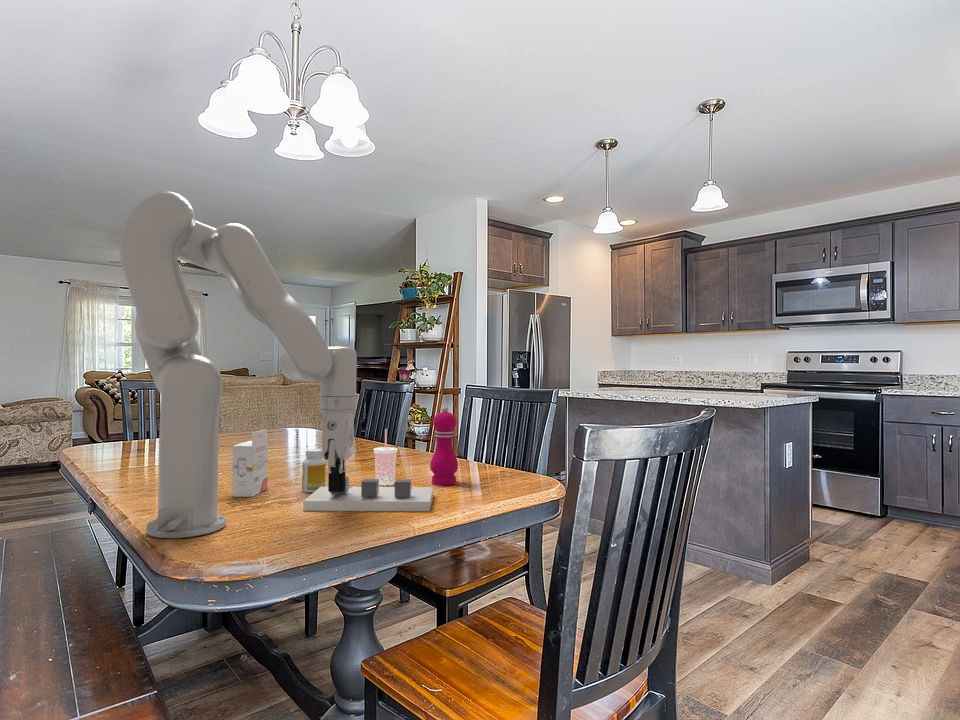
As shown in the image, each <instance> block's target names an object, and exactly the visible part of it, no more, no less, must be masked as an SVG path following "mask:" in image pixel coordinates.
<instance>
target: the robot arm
mask: <svg viewBox="0 0 960 720" xmlns="http://www.w3.org/2000/svg"><path fill="white" fill-rule="evenodd" d="M119 257H120V262H121V266H122V270H123V273H124V276H125V280H126V283H127V286H128V290H129V293H130V295H131V299H132V302H133V304H134V307H135V311H136V317H135V319H134V320H135V321H134V329H135V330H134V331H135V334H136V338H137V340H138V343H139V346H140V348H141V350H142V354H143V357H144V359H145V362H146V364H147V366H148V370H149V373H150V375H151V377H152V381H153V383H154V385H155V387H156V389H157V391H158V392H159V394H160V395H161V397H160V398H161V401H160V415H159V416H160V417H159V430H158V431H159V433H158V434H159V435H158V437H159V439H158V444H159V445H158V446H159V449H158V487H157V491H158V493H157V517H156V518H155V519H154V520H152V521H149V522H148V523H147V524H146V534H147V535H149V536H151V537H154V538H159V539H181V538H193V537H198V536H203V535H207V534H212V533H214V532H217V531H219V530H221V529H223V528H224V527H225V526H226V525H227V517H225V516H224V515H222V514H218V490H219V489H218V484H219V482H218V479H219V446H220V445H219V436H220V435H219V432H220V431H219V429H220V412H221V404H222V396H223V378H222V375H221V372H220V369H219V368H218V366H217V365H216V364H215V363H214V362H213V361H212V360H211V359H209V358H208V357H206V356H203V355H202V352H201V349H200V346H199V343H198V340H197V338H196V337H197V335H198V331H199V318H198V316H197V313H196V311H195V309H194V307H193V304H192V302H191V298H190V295H189V294H188V290H187V288H186V285H185V282H184V279H183V276H182V272H181V269H180V265H179V260H181V261H184V262H187V263H189V264H192V265H195V266H198V267H199V268H204V269H207V270H210V271H213V272H216V273H219V274H220V273H222V274H223V275H224V277H225V278H226V279H227V281H228V283H229V284H230V286H231V287H232V288H231V289H232V290H233V291H234V293H235V295H236V296H237V298H238V299H239V301H240V303H241V304H242V306H243V308H244V310H245V311H246V312H247V313H248V314H249V315H250V316H251V317H252V318H254V320H257V321H258V322H260V323H261V324H263V325H264V326H265V327H267V329H269V330H270V331H271V332H272V334H273V335H274V336H275V337H276V338H277V340H278V341H279V343H280V345H282V347H283V348H284V350H283V352H281V353H280V356H279V359H278V368H279V370H280V372H281V374H283V375H284V376H285V377H286V378H287V379H290V380H292V381H296V382H308V383H309V382H311V383H313V382H318V381H319V412H320V413H323V416H322V417H323V419H322V430H321V433H322V436H321V449H322V458H323V459H325V461H327V468H328V480H327V481H328V482H327V483H328V484H327V485H328V486H327V487H328V491H329V492H343V491H344V490H345V477H346V461H347V460H348V459H349V458H350V457H352V456H353V455H354V453H355V424H354V423H355V421H354V413H355V412H357V364H358V363H357V362H358V361H357V360H358V359H357V358H358V357H357V356H358V355H357V351H356V349H355V348H354V347H350V346H328V345H327V343H326V341H325V338H324V337H323V336H322V334H321V333H320V331H319V328H318V327H317V326H316V324H315V322H314V321H313V320H312V319H311V317H310V316H309V314H308V313H307V312H306V311H305V310H304V309H303V308H302V307H301V306H300V305H299V303H298V302H297V301H296V300H295V298H294V297H293V296H291V294H290V293H289V292H288V291H287V289H286V288H285V285H284V283H282V281H281V278H280V277H279V276H278V274H277V272H276V270H275V269H274V267H273V265H272V263H271V261H270V260H269V258H268V256H267V255H266V253H265V251H264V250H263V248H262V246H261V244H260V242H259V241H258V240H257V237H256V236H255V235H254V233H253V232H252V231H251V230H250V229H249V228H248V227H246V226H245V225H243V224H240V223H236V222H233V223H232V222H231V223H227V224H223V225H221V226H218V227H216V228H215V227H212V226H210V225H208V224H204V223H201V222H200V221H197V220H196V214H195V211H194V208H193V207H192V205H191V204H190V202H189V201H188V200H187V199H186V198H185V197H183V196H182V195H180V194H179V193H176V192H173V191H159V192H155V193H153V194H150V195H148V196H147V197H145V198H144V199H143V200H141V201H139V202H138V203H137V204H136V205H135V206H134V208H133V209H132V210H131V211H130V213H129V214H128V215H127V217H126V219H125V222H124V224H123V226H122V230H121V234H120V238H119ZM178 259H179V260H178Z"/></svg>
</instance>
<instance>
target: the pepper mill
mask: <svg viewBox="0 0 960 720" xmlns="http://www.w3.org/2000/svg"><path fill="white" fill-rule="evenodd" d="M432 424H433V427H434V428H435V431H434V437H436V446H435V450H434V453H433V455H432V457H431V461H430V465H429V469H430V471H431V472H432V474H433V475H432V476H431V484H432V485H434V484H435V485H434V486H439V485H449V486H453V485H452V484H454V485H456V484H455V483H457V476H456V475H455V473H456V472H458V469H459V462H458V459H457V457H456V454H455V452H454V446H453V438H454V436H455V431H454V429H455V428H456V426H457V418H456V416H455V414H453V413H451V412H449V407H448V406H446V405H443V406H442V407H441V412H438V413H437V414H435V415H434V417H433V420H432Z"/></svg>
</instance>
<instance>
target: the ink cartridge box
mask: <svg viewBox="0 0 960 720" xmlns="http://www.w3.org/2000/svg"><path fill="white" fill-rule="evenodd" d="M259 436H261V437H259ZM258 437H259V438H258ZM268 439H269V438H268V429H267V428H264V429H260V430H256V431H253V432H251V440H248V441H245V442H240V443H238V444H234V445H232V479H231V481H232V486H231V487H232V492H231V493H232V494H231V495H232V497H236V498H237V497H238V498H239V497H243V498H245V497H246V498H253V497H255V496H257V495H258V494H261V493H262V492H263V491H266V490H267V489H268V468H269V467H268V466H269V465H268V462H269V461H268V458H269V457H268V455H269V454H268V453H269V452H268V451H269V448H268V447H269V445H268V444H269V441H268Z"/></svg>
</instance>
